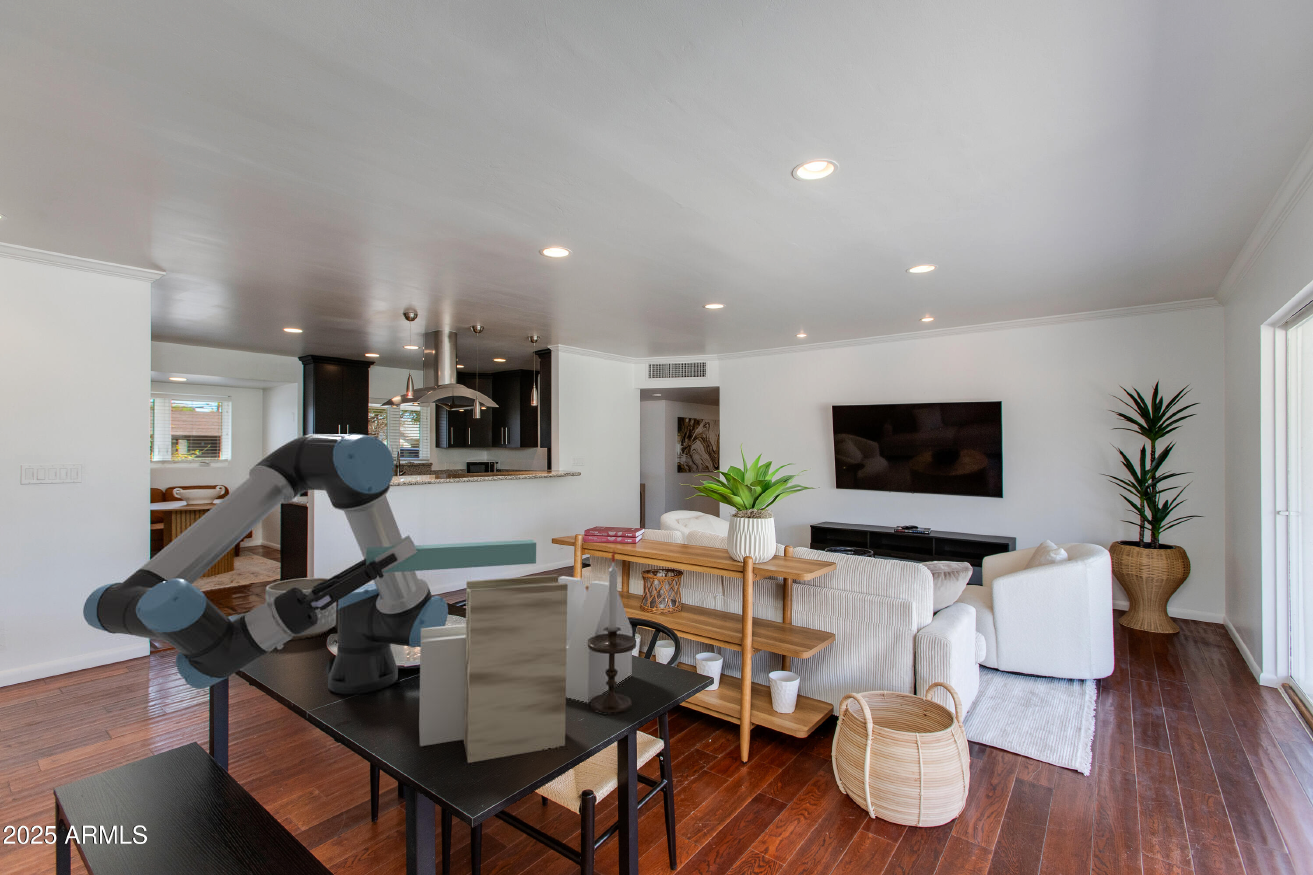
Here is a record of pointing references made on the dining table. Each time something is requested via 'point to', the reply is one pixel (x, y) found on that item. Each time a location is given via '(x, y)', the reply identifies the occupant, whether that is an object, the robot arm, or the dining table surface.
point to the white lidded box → (442, 684)
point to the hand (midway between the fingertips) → (412, 543)
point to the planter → (306, 585)
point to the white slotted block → (582, 624)
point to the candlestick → (611, 652)
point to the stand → (515, 666)
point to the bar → (461, 555)
